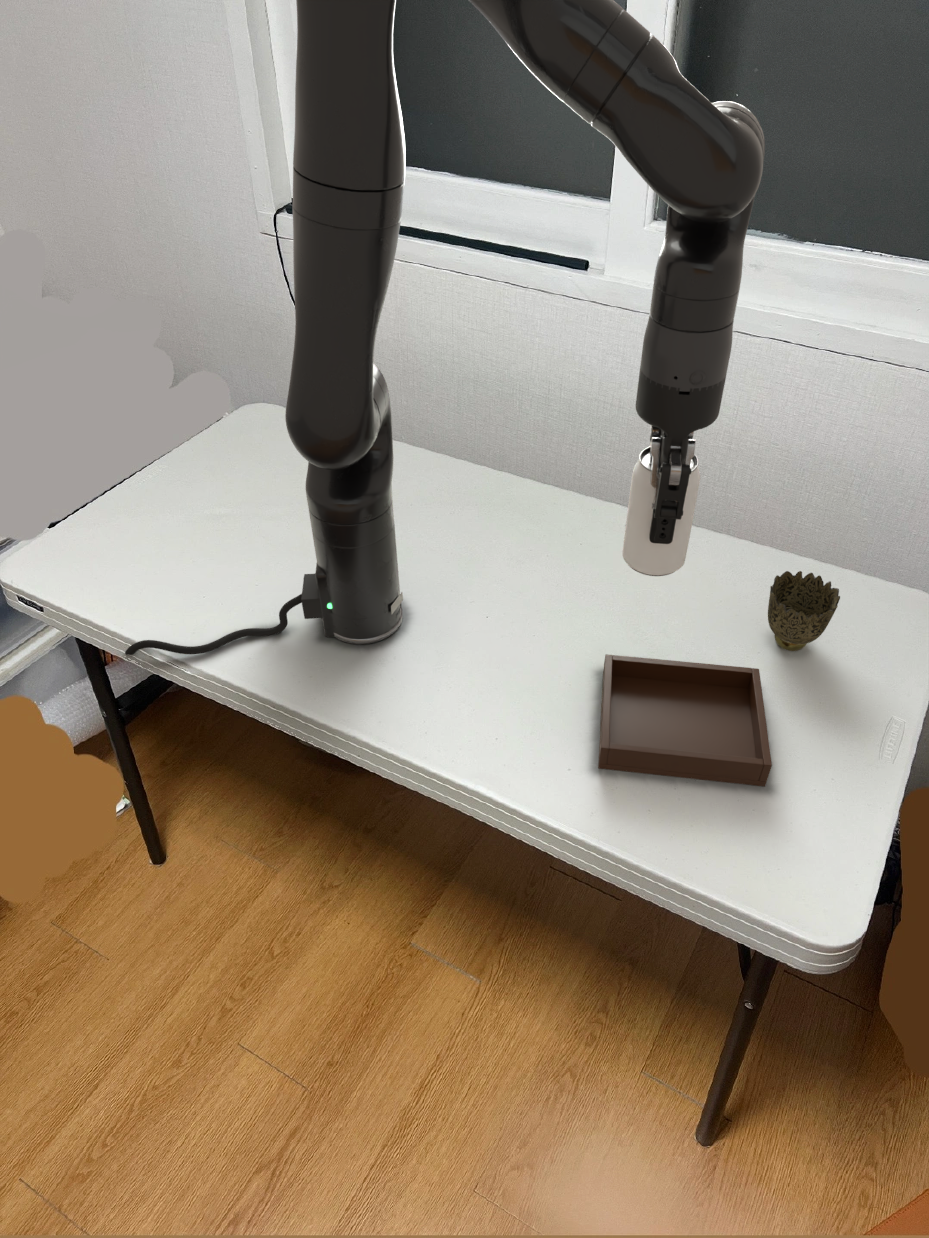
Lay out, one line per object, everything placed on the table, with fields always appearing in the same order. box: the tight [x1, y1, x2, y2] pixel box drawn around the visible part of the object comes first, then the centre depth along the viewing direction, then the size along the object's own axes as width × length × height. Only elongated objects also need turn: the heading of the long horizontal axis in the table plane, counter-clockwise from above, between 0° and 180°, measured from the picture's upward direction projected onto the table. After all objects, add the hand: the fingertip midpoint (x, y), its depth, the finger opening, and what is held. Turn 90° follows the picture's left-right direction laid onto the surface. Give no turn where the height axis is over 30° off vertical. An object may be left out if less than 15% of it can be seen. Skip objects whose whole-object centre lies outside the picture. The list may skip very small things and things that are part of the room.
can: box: [622, 445, 701, 577], centre depth 89 cm, size 6×6×12 cm
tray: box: [597, 653, 773, 787], centre depth 94 cm, size 17×14×3 cm
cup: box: [767, 570, 841, 652], centre depth 102 cm, size 8×7×8 cm
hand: (659, 520), depth 90 cm, fingers closed on can, 6 cm apart
